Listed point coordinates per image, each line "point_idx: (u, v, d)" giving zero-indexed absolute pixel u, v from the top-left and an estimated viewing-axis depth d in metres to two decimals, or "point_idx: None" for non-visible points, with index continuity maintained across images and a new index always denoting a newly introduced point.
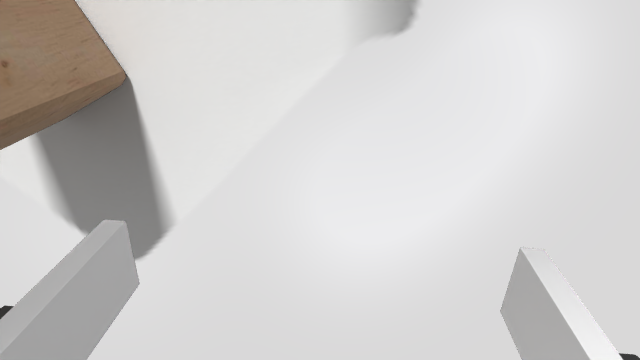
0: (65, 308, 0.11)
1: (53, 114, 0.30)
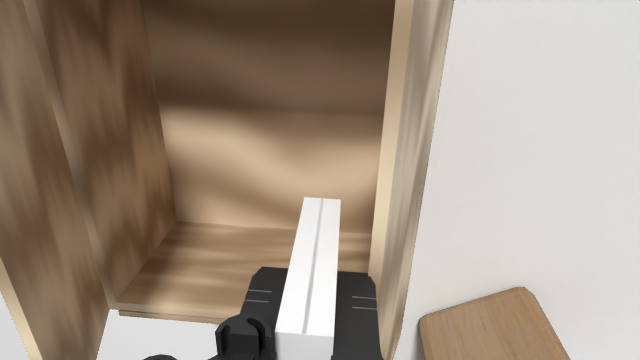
0: None
1: None
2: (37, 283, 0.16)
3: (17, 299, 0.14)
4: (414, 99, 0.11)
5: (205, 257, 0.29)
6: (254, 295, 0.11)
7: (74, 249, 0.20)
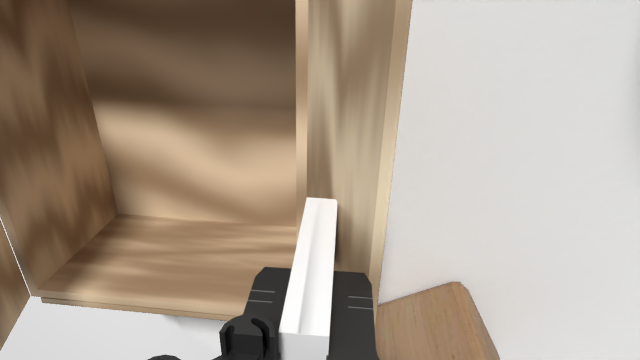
0: None
1: None
2: None
3: None
4: None
5: (136, 248, 0.30)
6: (257, 295, 0.11)
7: None
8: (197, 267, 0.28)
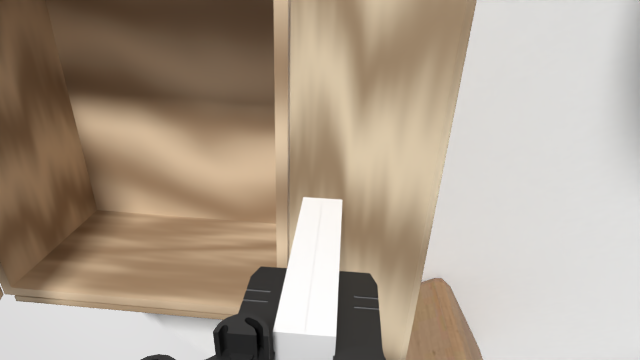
0: None
1: None
2: None
3: None
4: None
5: (114, 245, 0.29)
6: (253, 295, 0.11)
7: None
8: (177, 264, 0.28)
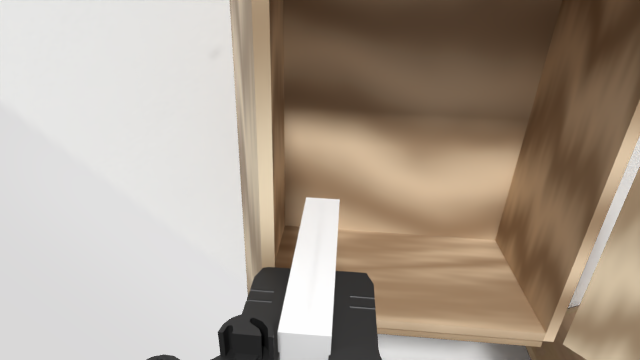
0: None
1: None
2: None
3: None
4: None
5: None
6: (256, 295, 0.11)
7: None
8: (408, 283, 0.27)
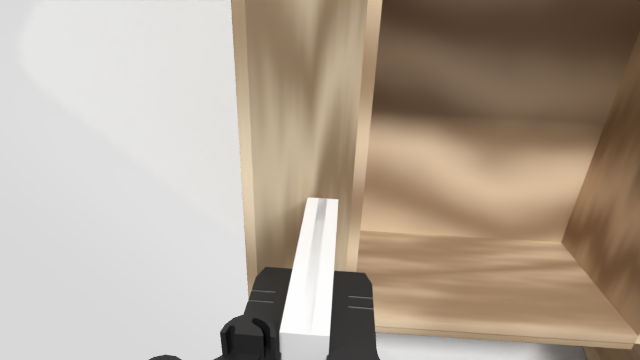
0: None
1: None
2: None
3: None
4: None
5: (406, 268, 0.28)
6: (258, 295, 0.11)
7: None
8: (489, 287, 0.27)
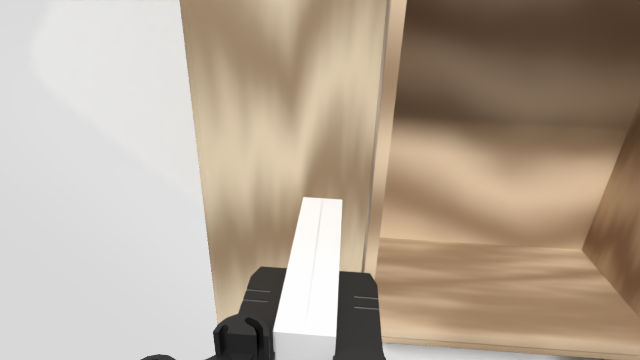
0: None
1: None
2: None
3: (219, 287, 0.15)
4: None
5: (423, 276, 0.28)
6: (253, 295, 0.11)
7: None
8: (509, 297, 0.26)
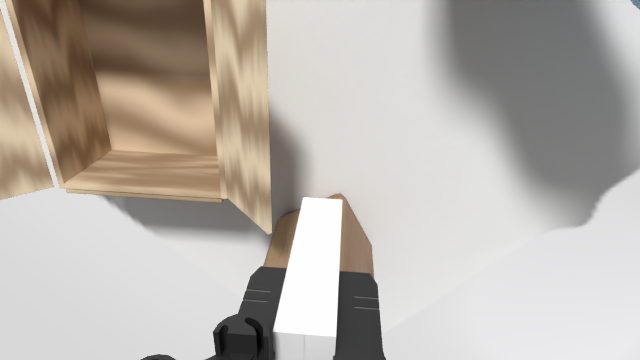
0: None
1: None
2: None
3: None
4: None
5: (124, 166, 0.46)
6: (252, 295, 0.11)
7: (8, 136, 0.38)
8: (163, 174, 0.45)
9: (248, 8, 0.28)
